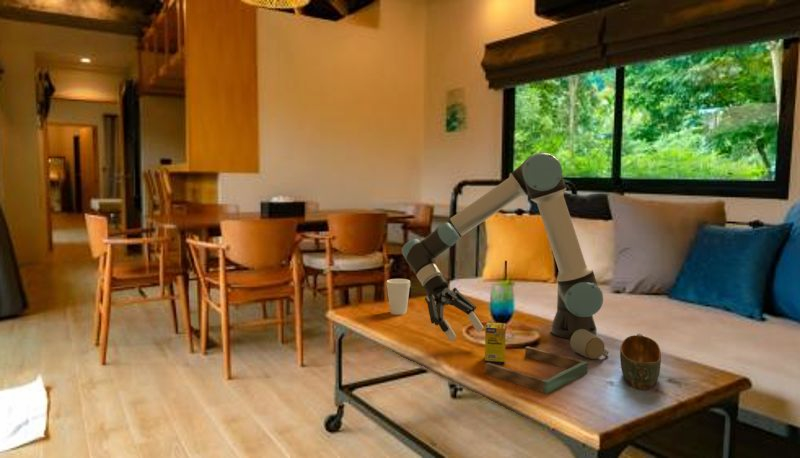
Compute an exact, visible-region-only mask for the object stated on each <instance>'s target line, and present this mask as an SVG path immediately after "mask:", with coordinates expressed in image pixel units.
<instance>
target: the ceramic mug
mask: <svg viewBox="0 0 800 458" xmlns="http://www.w3.org/2000/svg"><path fill="white" fill-rule="evenodd" d="M569 344H570V348H571V350H572V351H573V352H574V353H577V354H579V355H581V356H582V357H585V358H586V359H589V360H598V359H599V358H600V357H602V355H603V356H606V357H608V355H609V350H608V349H605V347H606V346H605V343H604V341H603V339H601V338H600V337H599V336H598V335H597V334H596V335H594V334H592V333H591V332H589V331H587V330H585V329H579V330H577V331H575V332H574V333H573V335H572V337H571V339H569Z"/></svg>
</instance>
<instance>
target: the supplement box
mask: <svg viewBox="0 0 800 458" xmlns="http://www.w3.org/2000/svg"><path fill="white" fill-rule="evenodd" d="M506 324H507V323H502V322H486V324H485V326H484V332H485V336H484V344H485V345H484V364H485V363H487V362H489V363H492V364H495V365H505V363H506V341H507V340H506V337H507V336H506V335H507V332H506V331H507V325H506Z"/></svg>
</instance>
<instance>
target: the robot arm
mask: <svg viewBox="0 0 800 458" xmlns="http://www.w3.org/2000/svg"><path fill="white" fill-rule="evenodd" d="M566 190H567V186H566V183H565V180H564V177H563V167H562V165H561V162H560V161H559V159H558V158H557V157H556V156H554V155H553V154H551V153H548V152H542V151H541V152H540V151H539V152H537V153H533V154H532V155H530V156H528V157H527V158H526V159H525V160H524V161H523V162H522V163H521V164H520V165H519V166H518V167H517V168H515V169H514V170H513V171H512V172H510V173H509V176H508V178H506V179H505V180H503V181H502V182H501V183H499V184H498V185H496V186H495V187H494V188H492V189H490V190H489V191H488V192H486V193H485V194H483V195H482V196H480V197H479V198H478V199H476V200H475V201H472V203H471V204H469V205H468V206H466V207H465V208H463V209H462V210H460V211H459V212H457V213H456V214H454V215H453V216H452V217H449V219H447V220H446V221H445V222H443V223H442V224H439V225H438V226H437V227H436V228H435V229H434V230H433V231H432V232H431V233H430V234H428V235H427V236H426V237H425V238H424V239H422V240H419V239H418V238H414V239H413V238H412V239H411V240H410V241H407V242H406V243H404V245H403V246H402V247H401V254H402V256H403V258H404V259H405V262H406V263H407V264H408V265H409V267H410V269H411V270H412V271H413V273H414V275H415V276H416V278H417V280H418V281H419V282H420V284H421V286H422V287H423V289H424V290H425V292H426V293H427V295H426V296H425V297H424V300H425V302H426V304H427V308H428V310H427V311H428V314H429V315H428V316H429V318H430V319H429V320H430V322H431V324H434V325H435V326H439V327H440V329H441V330H442V332H443V333H445V336H446V337H447V339H448V340H449V342H450V343H452V342H453V341H454V340H455V339H457V337H458V335H457V333H456V332H455V331H454V330H453V328H452V326H451V325H450V323H449V321H448V320H447V319H446V318H445V319H444V307H445V306H449V305H450V306H454V307H455V308H456V309H459V310H460V311H462V313H465V314H466V315H467V316H466V317H467V318H468V320H469V322H470V323H471V325H472V326H473V327H474V329H475V330H476V332H477V334H478V333H481V331H483V330H484V329H485V326H484V325H483V324H482V322H481V321H480V318H479V316H478V315H477V314H476V312H475V310H476V309H477V305H475V304H474V303H473V302H472V301H471V300H470V299H468V298H467V297H466V296H465V295H463V294H462V293H461V292H460V291H459V290H458V289H457V287H453V288H452V289H450V288H449V286H448V285H449V282H448V281H447V280H446V278H445V277H444V275H443V274H442V272H441V271H440V269H439V267H438V266H437V264H436V263H435V262H434V260H436V258H438V257H439V256H440V255H441V254H443V253H444V252H445V251H448V249H450V248H451V247H452V246H453V247H454V245H455V244H456V243H457V242H458V241H459V240H460V238H462V237H463V236H464V235H465V234H467V233H469V232H470V231H471V230H473V229H475V228H476V227H478V226H479V225H480V224H482V223H483V222H485V221H486V220H488V219H490V218H491V217H492V216H494V215H495V214H497V213H498V212H500V211H501V210H502V209H504V208H506V207H507V206H509V205H510V204H512V203H513V202H514V201H516V200H518V199H519V198H520V197H522V196H523V197H527V196H529V199H530V201H532V202H534V203H535V204H537V208H538V211H539V214H540V217H541V218H540V219H541V220H542V224H543V227H544V230H545V233H546V235H547V239H548V242H549V245H550V248H551V250H552V253H553V257H554V260H555V263H556V267H557V269H558V272H557V276H556V281H557V298H556V299H557V303H556V307H557V308H556V312H555V315H554V318H553V321H552V324H551V331H550V332H551V333H552V334H553V335H555V336H557V337H559V338H563V339H569V340H571V337H572V335H573V333H574V332H575V331H577V330H579V329H585V330H587V331H589V332H591V333H592V334H594V335H596V336H597V334H598V333H597V327H596V322H595V319H594V315H596V314H597V313H598V312H600V310H601V308H602V306H603V304H604V294H603V291H602V290H601V288H600V287H599V284H598V282H597V279H596V275H595V273H594V269H593V268H591V267H590V266H588V265H587V264H586V261H585V258H584V255H583V254H584V253H583V252H582V249H581V245H580V243H579V240H578V237H577V233H576V230H575V227H574V224H573V220H572V217H571V215H570V212H569V208H568V205H567V203H566V198H565V196H564V195H565V192H566Z"/></svg>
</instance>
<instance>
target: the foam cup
mask: <svg viewBox="0 0 800 458" xmlns="http://www.w3.org/2000/svg"><path fill="white" fill-rule="evenodd" d="M386 288H387V289H386V290H387V296H388V304H389V312H390V314H391V315H396V316H400V315H406V314H407V310H408V303H409V302H408V301H409V295H410V288H411V280H409V279H406V278H391V279H387V280H386Z"/></svg>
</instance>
